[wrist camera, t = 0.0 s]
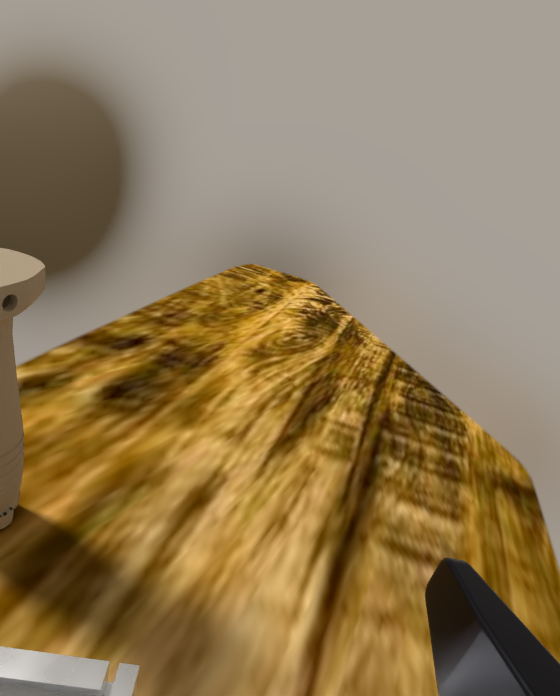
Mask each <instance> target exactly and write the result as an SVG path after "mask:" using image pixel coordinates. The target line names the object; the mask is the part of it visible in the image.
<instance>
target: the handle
mask: <svg viewBox="0 0 560 696" xmlns="http://www.w3.org/2000/svg"><path fill="white" fill-rule="evenodd" d="M44 288H45V266H44V264H43V263H42V262H41V261H39V260H37V259H35V258H34V257H31V256H29V255H26V254H23V253H20V252H16V251H13V250H9V249H3V248H0V530H1V529H3V528H5V527H6V526H8V525H9V524H10V523H11V522H12V519H13V513H14V509H15V508H16V507H17V506H18V503H19V498H20V486H21V481H22V474H23V460H24V434H23V422H22V414H21V406H20V399H19V391H18V383H17V375H16V365H15V355H14V346H13V336H12V326H13V317H14V316H16V315H18V314H20V313H21V312H22V311H24V310H25V309H26V308H28V307H29V306H30V305H31V304H32V303H33V302H34V301H35V300H36V299H37V298H38V297H39V296H40V294H41V293H42V292H43V290H44Z"/></svg>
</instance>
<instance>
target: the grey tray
mask: <svg viewBox="0 0 560 696" xmlns="http://www.w3.org/2000/svg"><path fill="white" fill-rule="evenodd" d="M109 663H110V661H103V660H96V659H88V658H81V657H74V656H66V655H59V654H51V653H44V652H37V651H29V650H22V649H14V648H7V647H0V696H135V692H136V686H137V680H138V673H139V667H140V665H133V664H125V663H119V667H118V670H117V673H116V676H115V680H114V683H113V682H108V672H109Z"/></svg>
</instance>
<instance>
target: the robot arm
mask: <svg viewBox="0 0 560 696" xmlns="http://www.w3.org/2000/svg"><path fill="white" fill-rule="evenodd" d="M425 599H426V607H427V615H428V622H429V630H430V637H431V644H432V652H433V659H434V667H435V674H436V681H437V687H438V693H439V696H560V663H559V662H558V661H557V660H556V659H555V658H554V657H553V656H552V655H551V654H550V652H549V651H548V650H547V649H546V648H545V647H544V646H543V645H542V644H541V643H540V641H539V640H538V639H537V638H536V637H535V636H534V635H533V634H532V633H531V632H530V630H529V629H528V628H527V627H526V626H525V625H524V624H523V623H522V622H521V621H520V619H519V618H518V617H517V616H516V615H515V614H514V613H513V612H512V611H511V610H510V608H509V607H508V606H507V605H506V604H505V603H504V602H503V601H502V600H501V599H500V597H499V596H498V595H497V594H496V593H495V592H494V591H493V590H492V589H491V588H490V586H489V585H488V584H487V583H486V582H485V581H484V580H483V579H482V578H481V577H480V575H479V574H478V573H477V572H476V571H475V570H474V569H473V568H472V567H471V566H470V565H469V564H468V563H467V562H465V561H462V560H457V559H451V558H444V559H443V560H441V562H440V563H439V565H438V567H437V568H436V570H435V572H434V573H433V575H432V577H431V579H430V580H429V582H428V584H427V587H426V592H425Z"/></svg>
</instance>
